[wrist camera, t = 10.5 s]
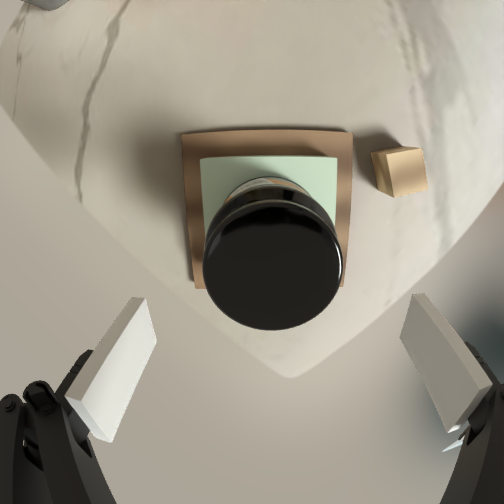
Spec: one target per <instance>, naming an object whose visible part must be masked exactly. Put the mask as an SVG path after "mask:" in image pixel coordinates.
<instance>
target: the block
mask: <svg viewBox="0 0 504 504" xmlns="http://www.w3.org/2000/svg"><path fill="white" fill-rule="evenodd" d="M370 153H371V157H372V162H373V167H374V172H375V177H376V182H377V188H378V190H379V191H381V192H383V193H385V194H387V195H390V196H392V197H394V198H395V197H399V196H403V195H407V194H411V193H415V192H419V191H424V190H428V185H427V177H426V170H425V164H424V158H423V152H422V148H415V147H404V146H403V147H397V148H391V149H386V150H381V151H375V152H370Z"/></svg>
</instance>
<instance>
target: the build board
mask: <svg viewBox="0 0 504 504" xmlns="http://www.w3.org/2000/svg"><path fill="white" fill-rule="evenodd" d="M181 138H182V157H183V173H184V187H185V199H186V211H187V221H188V231H189V241H190V250H191V259H192V267H193V275H194V282H195V289H206V287H205V283H204V280H203V274H202V260H203V254H204V244H205V227H204V214H203V201H202V186H201V170H200V159H204V158H210V157H228V156H257V155H306V156H330V157H335V158H337V191H336V214H335V229H336V232H337V237H338V241H339V244H340V247H341V250H342V255H343V275H342V280H341V283H340V286H339V287H343V284H344V276H345V267H346V258H347V248H348V237H349V225H350V211H351V193H352V164H353V133H348V132H334V131H316V130H240V131H221V132H207V133H196V134H186V135H181Z"/></svg>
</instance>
